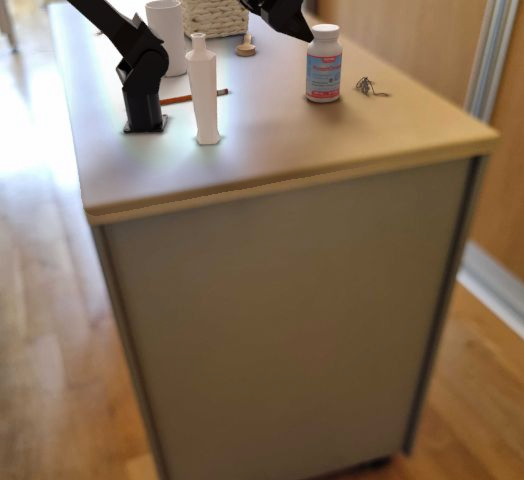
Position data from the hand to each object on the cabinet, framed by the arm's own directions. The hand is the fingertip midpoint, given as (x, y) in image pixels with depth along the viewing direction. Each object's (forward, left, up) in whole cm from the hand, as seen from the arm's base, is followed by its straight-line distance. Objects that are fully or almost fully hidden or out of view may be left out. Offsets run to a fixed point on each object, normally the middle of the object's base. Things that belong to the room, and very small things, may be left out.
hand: (301, 33), depth 93 cm
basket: (+51, +21, -11) cm, 56 cm away
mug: (+20, +26, -11) cm, 34 cm away
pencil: (+2, +22, -11) cm, 25 cm away
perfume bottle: (-15, +15, -11) cm, 24 cm away
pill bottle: (+2, -4, -11) cm, 12 cm away
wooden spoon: (+34, +11, -11) cm, 37 cm away
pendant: (+5, -13, -11) cm, 17 cm away
